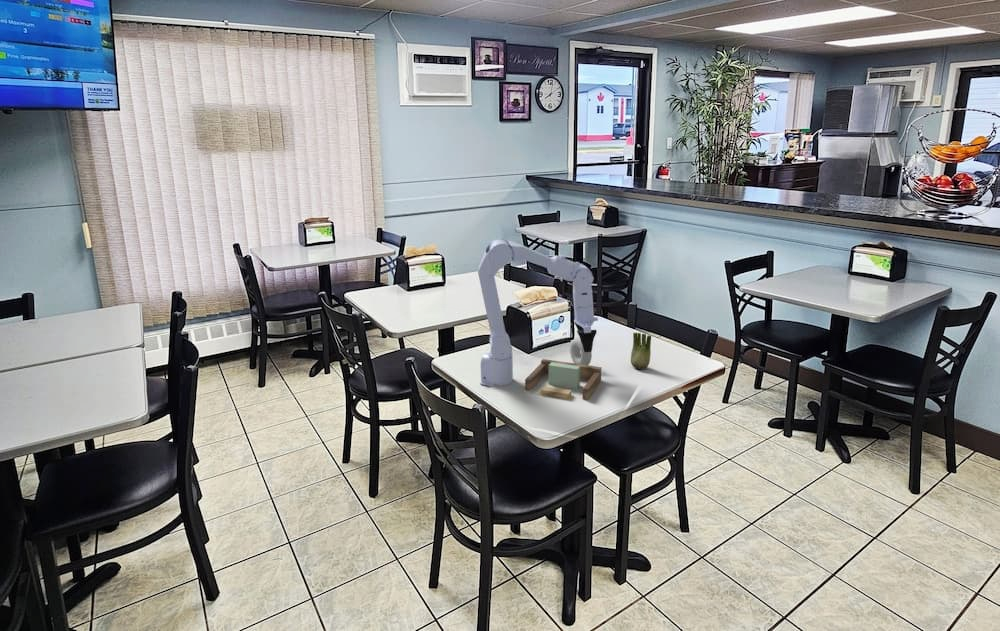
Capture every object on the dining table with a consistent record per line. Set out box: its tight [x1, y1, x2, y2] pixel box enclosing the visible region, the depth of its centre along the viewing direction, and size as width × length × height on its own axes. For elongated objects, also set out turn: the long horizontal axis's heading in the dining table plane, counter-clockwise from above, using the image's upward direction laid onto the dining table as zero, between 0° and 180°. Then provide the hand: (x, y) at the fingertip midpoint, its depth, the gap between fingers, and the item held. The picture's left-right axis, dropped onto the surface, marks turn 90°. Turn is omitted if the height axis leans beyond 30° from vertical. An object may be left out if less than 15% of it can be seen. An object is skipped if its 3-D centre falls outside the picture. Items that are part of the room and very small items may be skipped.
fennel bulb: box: [630, 332, 652, 370], centre depth 189 cm, size 6×5×12 cm
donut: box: [569, 336, 593, 366], centre depth 192 cm, size 10×4×10 cm, turn 25°
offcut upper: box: [540, 385, 572, 400], centre depth 171 cm, size 8×3×2 cm, turn 66°
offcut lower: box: [537, 390, 574, 401], centre depth 171 cm, size 10×3×2 cm, turn 66°
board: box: [548, 362, 581, 390], centre depth 177 cm, size 9×2×7 cm, turn 66°
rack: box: [524, 358, 603, 401], centre depth 178 cm, size 19×15×5 cm
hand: (586, 347), depth 181 cm, fingers open, 7 cm apart
